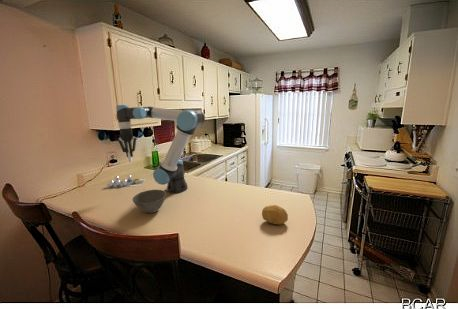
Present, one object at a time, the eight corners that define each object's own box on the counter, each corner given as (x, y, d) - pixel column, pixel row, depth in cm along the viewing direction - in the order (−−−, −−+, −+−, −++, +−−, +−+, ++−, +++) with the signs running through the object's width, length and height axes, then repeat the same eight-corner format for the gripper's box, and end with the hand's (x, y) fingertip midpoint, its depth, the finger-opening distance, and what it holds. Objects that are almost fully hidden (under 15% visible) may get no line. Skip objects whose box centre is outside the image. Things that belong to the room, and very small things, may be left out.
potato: (285, 213, 104) (288, 203, 112) (258, 210, 110) (263, 200, 118) (286, 230, 107) (289, 219, 115) (260, 225, 113) (265, 215, 121)
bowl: (134, 207, 136) (132, 193, 134) (165, 201, 143) (163, 187, 141) (134, 222, 119) (132, 205, 117) (169, 214, 126) (167, 198, 124)
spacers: (132, 180, 184) (131, 174, 183) (126, 186, 170) (125, 180, 169) (116, 181, 182) (115, 175, 181) (109, 187, 169) (108, 181, 168)
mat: (145, 180, 186) (145, 179, 185) (140, 186, 171) (140, 185, 171) (112, 182, 183) (112, 181, 183) (104, 189, 168) (104, 188, 168)
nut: (140, 181, 180) (140, 178, 179) (138, 183, 175) (138, 180, 174) (135, 181, 180) (134, 178, 179) (133, 184, 175) (132, 180, 174)
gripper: (137, 126, 151) (141, 159, 157) (117, 127, 150) (122, 160, 156) (133, 128, 144) (138, 162, 150) (113, 129, 143) (119, 163, 148)
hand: (130, 161), depth 153 cm, fingers closed
